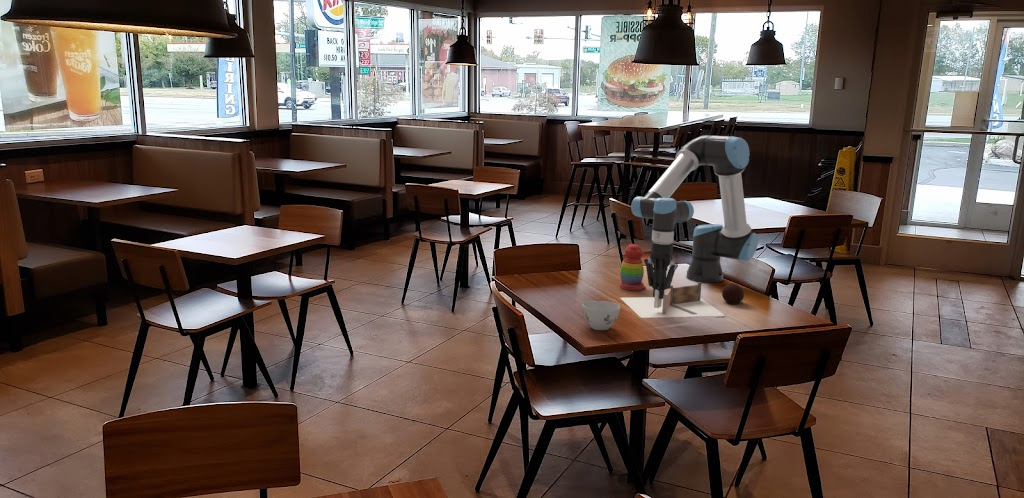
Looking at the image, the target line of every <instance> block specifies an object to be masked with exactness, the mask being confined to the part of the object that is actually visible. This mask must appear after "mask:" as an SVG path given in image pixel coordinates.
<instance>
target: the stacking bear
mask: <svg viewBox="0 0 1024 498" xmlns="http://www.w3.org/2000/svg"><path fill="white" fill-rule="evenodd" d="M624 252H625V258H624V259H623V260H622V262H621V266H620V270H619V271H620V272H619V274H620V281H621V282H620V285H619V287H620V289H623V290H628V291H637V292H642V291H647V288H646V286H645V284H644V282H643V278H644V276H645V275H644V272H645V270H644V263H643V260H642V259H641V258H642V257H643V256H644V254H645V252H644V250H642V248H641V247H640V245H638V244H635V243H634V244H633V242H632V243H630V244H629V245H627V246H626V247H625V250H624Z"/></svg>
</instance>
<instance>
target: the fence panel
mask: <svg viewBox="0 0 1024 498" xmlns="http://www.w3.org/2000/svg"><path fill="white" fill-rule="evenodd" d="M670 297H671V289H667V291H666V293H664V295H663V307H662V314H666V311H667V309H668V307H669V305H670Z"/></svg>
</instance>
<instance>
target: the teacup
mask: <svg viewBox="0 0 1024 498" xmlns="http://www.w3.org/2000/svg"><path fill="white" fill-rule="evenodd" d="M581 307H582V313H583V317H584V320H585V321H586V322H587V324H588V325H589V326H590V328H591V329H592V330H596V331H606V330H609V329H610V328H611V327H612V326H613V325H614V323H616V321H617V319H618V317H619V315H620V311H621V305H620V304H618V303H615V302H612V301H608V300H607V301H605V300H600V301H599V300H588V301H585V302H583V303H582V305H581Z"/></svg>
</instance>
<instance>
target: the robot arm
mask: <svg viewBox="0 0 1024 498" xmlns="http://www.w3.org/2000/svg"><path fill="white" fill-rule="evenodd" d="M749 157H751V155H750V148H749V145H748V142H747V141H746V140H745V139H743V138H742V137H737V136H735V135H734V136H733V135H730V136H729V135H728V136H727V135H710V134H705V135H700V136H698V137H696V138H694V139H691V140H690V141H688V142H687V143H686V144H685V145H683V146H682V147H681V148H680V149H679V150H678V152H676V155H675V159H674V160H673V161H672V163H671V164H670V165H669V166H668V167H667V169H665V171H664V172H663V173H662V175H661V176H660V177H659V179H658V180H657V181H656V182H655V183H654V184H653V185H652V187H651V188H650V189H649V190H648V192H647V193H645V195H644V196H642V195H641V196H636V197H634V198H633V200H632V201H631V204H630V205H631V206H630V207H631V208H630V209H631V214H632V215H634V216H635V217H637V218H642V219H651V220H652V228H651V229H652V231H651V241H652V242H651V243H650V244H651V245H650V252H651V254H650V256H649V257H648V258H645V259H644V260H643V262H644V264H645V268H646V274H647V282H648V286H649V287H652V297H654V307H655V308H659V307H661V305H662V299H663V295H665V290H668V289H669V288H670V285H672V281H673V279H674V275H675V272H676V270H677V268H678V267H679V264H677V263H675V262H674V261H673V257H672V256H673V253H674V252H673V251H674V244H673V243H674V240H675V239H674V237H675V224H678V223H686V222H687V221H689V220H691V219H692V218H693V216H694V213H695V208H694V205H692V203H691V202H689V201H687V200H679V201H677V200H676V199H675V198H673V197H672V195H673V194H674V192H675V191H676V190H677V189H678V188H679V186H680V185H681V184H682V183H683V182H684V180H685V179H686V178H687V176H688V175H690V173H691V172H692V171H695V170H697V168H698V167H699V166H712V167H713V172H714V174H715V175H716V176H717V177H718V183H719V191H720V198H721V205H722V207H721V208H722V214H723V222H724V224H720V223H715V224H714V223H711V224H699V225H697V226H695V227H694V229H693V234H692V237H693V238H692V250H691V251H692V255H691V261H690V263H689V266H688V267H687V271H686V278H687V279H689V280H691V281H695V282H701V283H719V282H722V281H723V280H724V272H723V269H722V265H721V258H725V259H733V260H737V261H744V262H745V261H746V262H747V261H750V260H751V259H752V258H753V257H754V255H755V254H756V252H757V248H758V245H759V236H758V234H757V233H755V232H752V226H751V224H748V223H747V222H748V221H747V215H746V206H745V204H746V203H745V198H744V197H745V195H744V188H743V187H744V186H743V178H742V173H743V172H744V171H745V169H746V167H747V165H748V164H749V161H750V158H749Z"/></svg>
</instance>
